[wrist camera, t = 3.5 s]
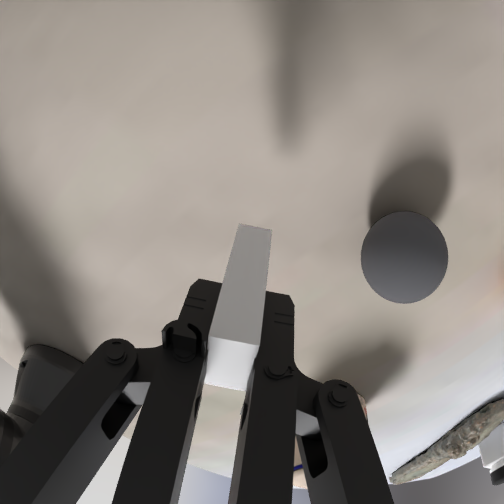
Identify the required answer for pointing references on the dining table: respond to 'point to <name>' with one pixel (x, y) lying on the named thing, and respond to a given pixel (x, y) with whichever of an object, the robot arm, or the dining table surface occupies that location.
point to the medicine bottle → (494, 454)
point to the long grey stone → (453, 443)
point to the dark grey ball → (404, 257)
